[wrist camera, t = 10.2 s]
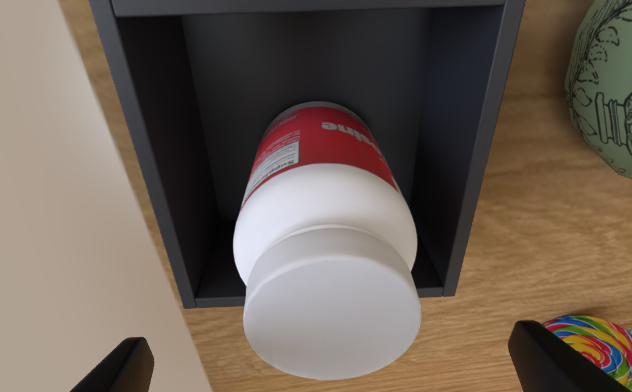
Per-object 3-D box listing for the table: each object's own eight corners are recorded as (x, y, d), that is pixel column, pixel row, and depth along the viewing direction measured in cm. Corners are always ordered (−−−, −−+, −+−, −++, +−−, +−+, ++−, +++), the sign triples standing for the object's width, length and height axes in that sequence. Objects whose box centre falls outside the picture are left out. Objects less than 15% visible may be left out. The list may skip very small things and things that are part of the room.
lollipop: (656, 249, 28) (509, 364, 28) (655, 237, 27) (503, 355, 27) (790, 304, 22) (601, 455, 21) (792, 290, 21) (597, 446, 21)
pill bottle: (396, 163, 19) (492, 337, 10) (308, 223, 21) (314, 420, 11) (327, 70, 16) (363, 179, 7) (233, 147, 18) (158, 319, 9)
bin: (214, 224, 21) (183, 309, 16) (166, -8, 15) (85, -7, 10) (414, 215, 22) (455, 296, 16) (446, -17, 15) (531, -20, 10)
